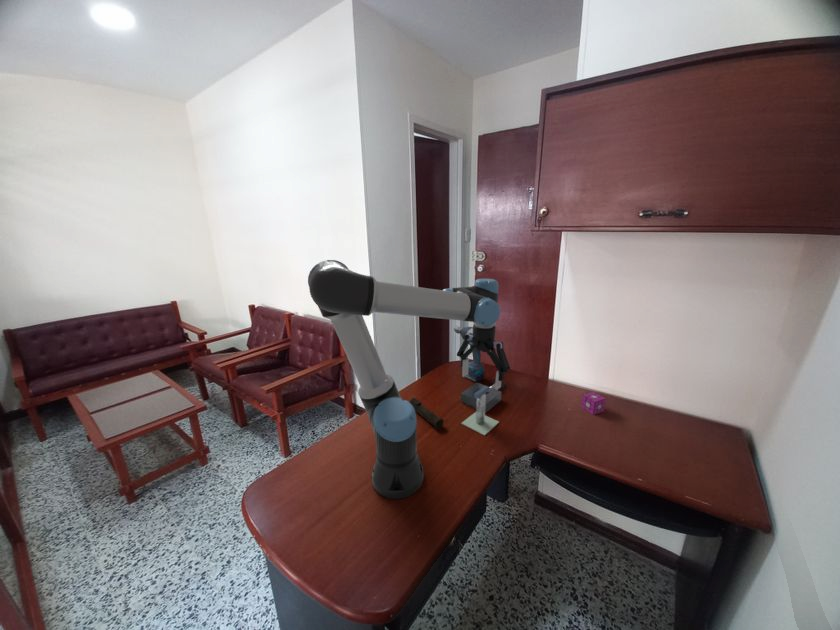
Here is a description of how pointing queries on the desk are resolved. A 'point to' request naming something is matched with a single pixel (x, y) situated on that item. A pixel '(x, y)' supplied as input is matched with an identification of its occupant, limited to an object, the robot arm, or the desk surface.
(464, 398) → the block
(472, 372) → the impact wrench
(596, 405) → the puzzle toy
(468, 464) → the desk surface
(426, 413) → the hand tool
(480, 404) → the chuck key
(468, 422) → the mat
